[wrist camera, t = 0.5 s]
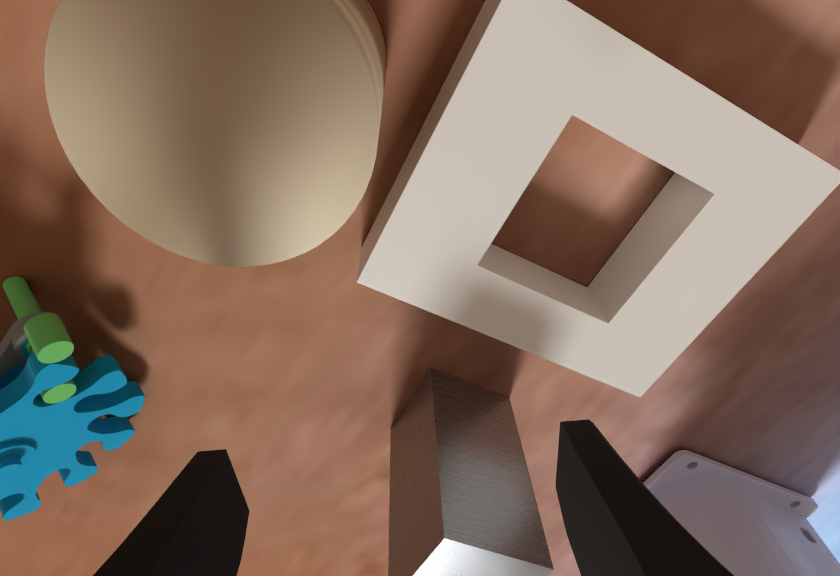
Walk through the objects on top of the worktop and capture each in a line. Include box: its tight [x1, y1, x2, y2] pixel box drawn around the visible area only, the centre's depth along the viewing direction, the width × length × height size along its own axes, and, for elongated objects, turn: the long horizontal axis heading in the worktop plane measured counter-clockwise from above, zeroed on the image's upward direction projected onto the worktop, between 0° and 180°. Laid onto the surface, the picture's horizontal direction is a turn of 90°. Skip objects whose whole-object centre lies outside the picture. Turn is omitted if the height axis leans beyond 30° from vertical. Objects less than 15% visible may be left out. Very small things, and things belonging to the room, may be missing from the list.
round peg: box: [44, 0, 386, 266], centre depth 13 cm, size 6×6×8 cm
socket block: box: [357, 0, 840, 397], centre depth 18 cm, size 12×10×2 cm
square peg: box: [388, 368, 554, 576], centre depth 21 cm, size 4×4×8 cm
